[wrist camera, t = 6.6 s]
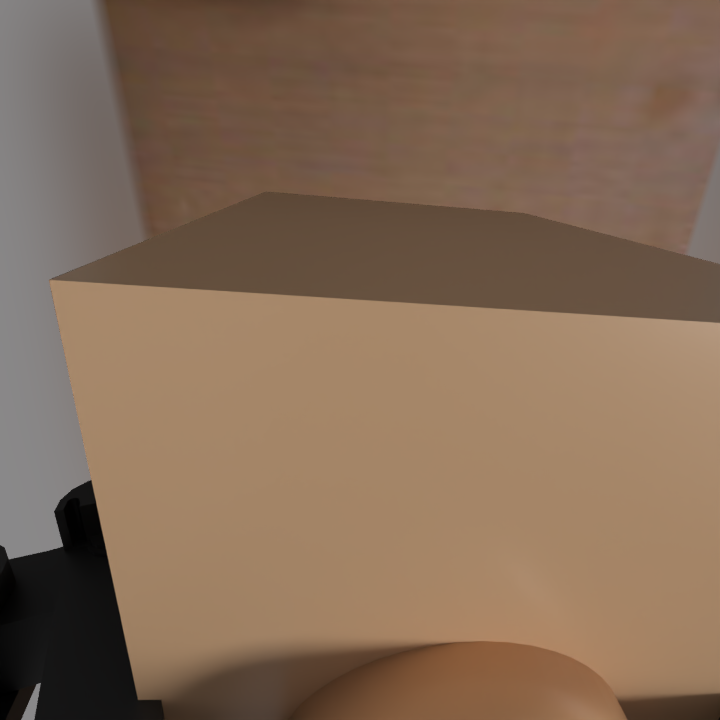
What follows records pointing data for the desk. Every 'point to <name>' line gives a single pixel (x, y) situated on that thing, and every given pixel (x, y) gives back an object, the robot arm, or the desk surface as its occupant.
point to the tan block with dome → (404, 464)
